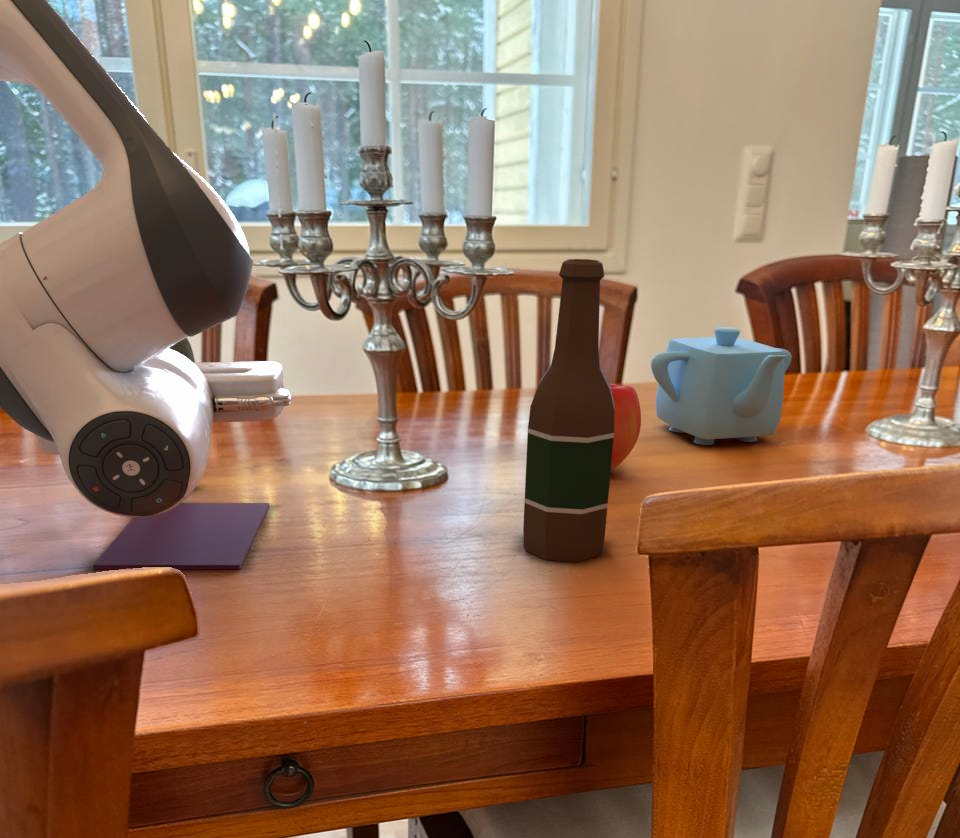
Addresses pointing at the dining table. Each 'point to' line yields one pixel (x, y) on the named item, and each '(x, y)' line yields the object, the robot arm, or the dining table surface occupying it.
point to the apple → (625, 422)
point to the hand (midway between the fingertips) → (166, 373)
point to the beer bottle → (571, 430)
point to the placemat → (187, 538)
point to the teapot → (720, 386)
